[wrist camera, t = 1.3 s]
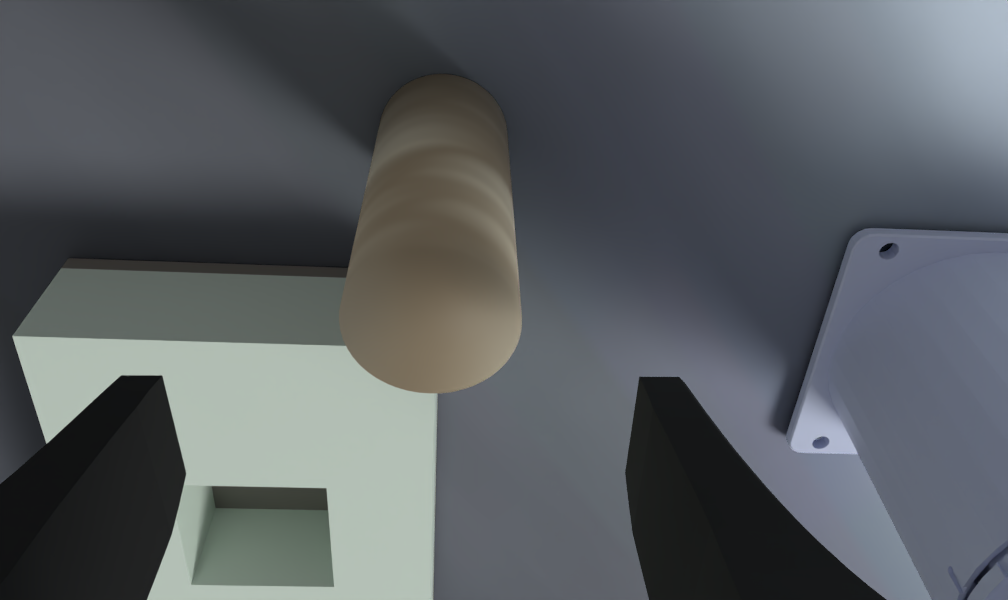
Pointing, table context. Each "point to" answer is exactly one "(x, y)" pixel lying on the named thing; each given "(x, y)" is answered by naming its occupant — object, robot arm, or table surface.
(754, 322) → the table surface
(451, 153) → the peg
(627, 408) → the table surface
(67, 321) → the socket block
